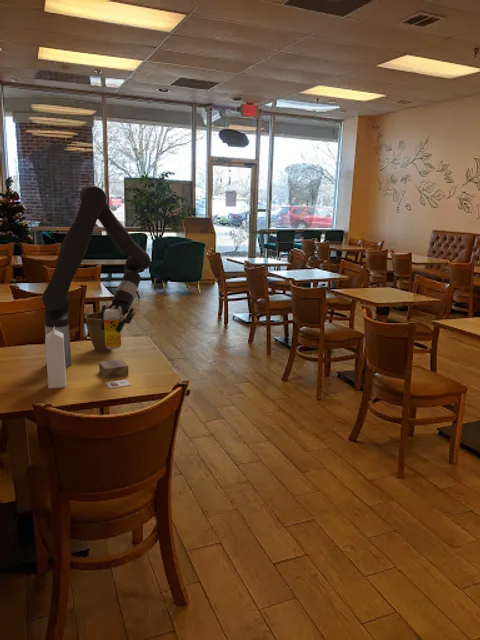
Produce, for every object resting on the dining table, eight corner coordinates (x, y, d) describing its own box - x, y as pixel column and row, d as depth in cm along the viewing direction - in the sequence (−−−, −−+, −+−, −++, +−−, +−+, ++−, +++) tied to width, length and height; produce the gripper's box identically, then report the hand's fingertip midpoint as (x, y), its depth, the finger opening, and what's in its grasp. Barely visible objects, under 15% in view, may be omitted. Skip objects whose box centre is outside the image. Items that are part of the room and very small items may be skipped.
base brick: (105, 378, 194) (105, 369, 193) (99, 371, 202) (99, 362, 201) (128, 375, 199) (128, 365, 198) (121, 368, 206) (121, 359, 205)
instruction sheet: (109, 388, 185) (109, 387, 185) (105, 383, 190) (105, 382, 190) (130, 385, 189) (130, 384, 189) (125, 380, 194) (125, 379, 194)
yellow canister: (107, 350, 194) (105, 312, 190) (103, 346, 199) (102, 309, 195) (123, 348, 197) (121, 311, 193) (119, 344, 202) (117, 307, 198)
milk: (48, 388, 183) (44, 330, 178) (49, 382, 189) (45, 325, 184) (66, 387, 185) (62, 329, 180) (66, 381, 191) (63, 325, 185)
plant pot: (126, 349, 231) (125, 315, 227) (98, 356, 220) (97, 321, 216) (107, 342, 241) (106, 310, 237) (79, 349, 230) (78, 314, 226)
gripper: (105, 287, 201) (89, 323, 193) (137, 290, 197) (122, 327, 189) (113, 298, 208) (98, 333, 200) (144, 301, 203) (130, 337, 195)
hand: (110, 330), depth 194 cm, fingers closed on yellow canister, 6 cm apart
